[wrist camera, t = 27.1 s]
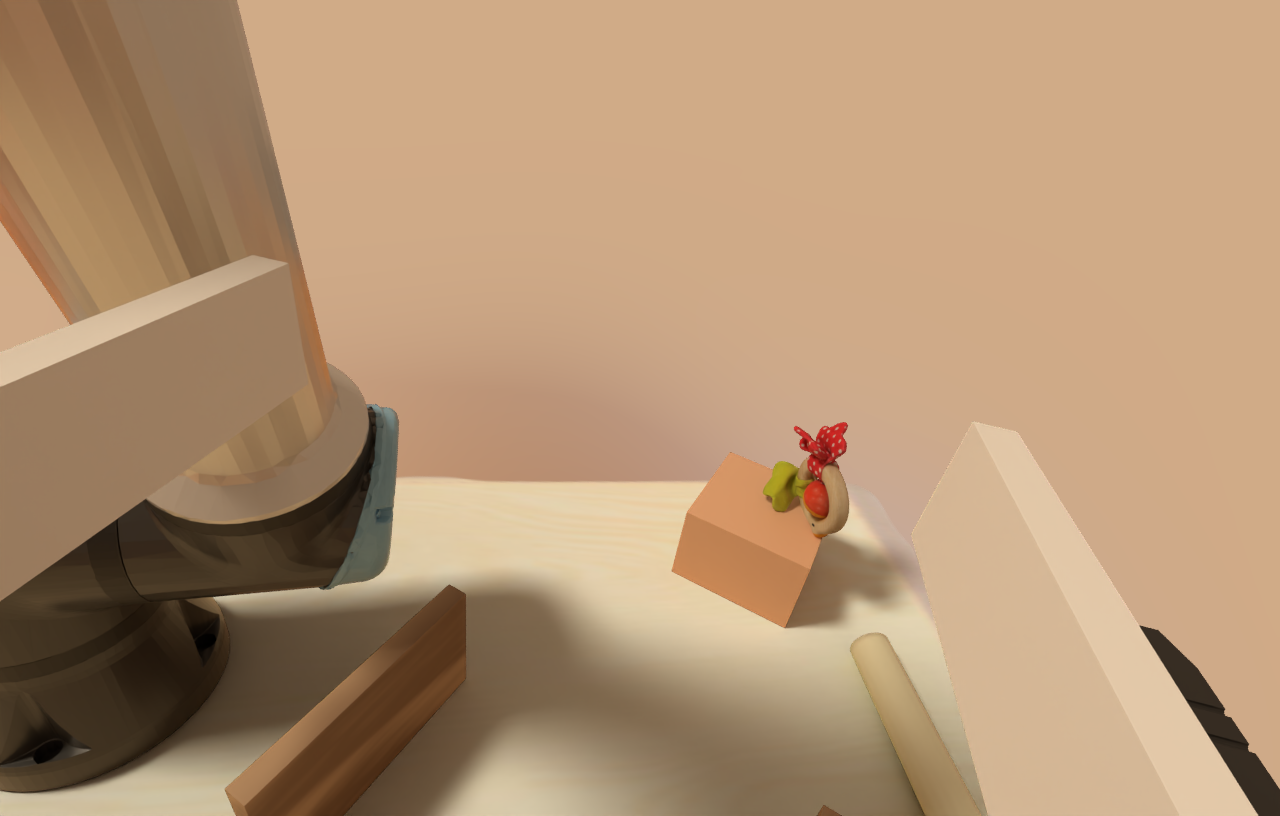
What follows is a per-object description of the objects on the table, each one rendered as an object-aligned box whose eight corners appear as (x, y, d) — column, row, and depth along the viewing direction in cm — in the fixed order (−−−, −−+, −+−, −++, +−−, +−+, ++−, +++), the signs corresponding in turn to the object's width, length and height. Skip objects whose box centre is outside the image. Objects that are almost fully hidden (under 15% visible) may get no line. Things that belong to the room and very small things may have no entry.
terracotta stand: (671, 571, 60) (686, 512, 56) (714, 506, 70) (730, 452, 66) (784, 627, 57) (810, 569, 52) (813, 551, 66) (837, 496, 62)
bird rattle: (838, 545, 59) (802, 464, 63) (909, 497, 50) (861, 406, 54) (784, 555, 56) (751, 470, 61) (848, 507, 48) (804, 411, 52)
